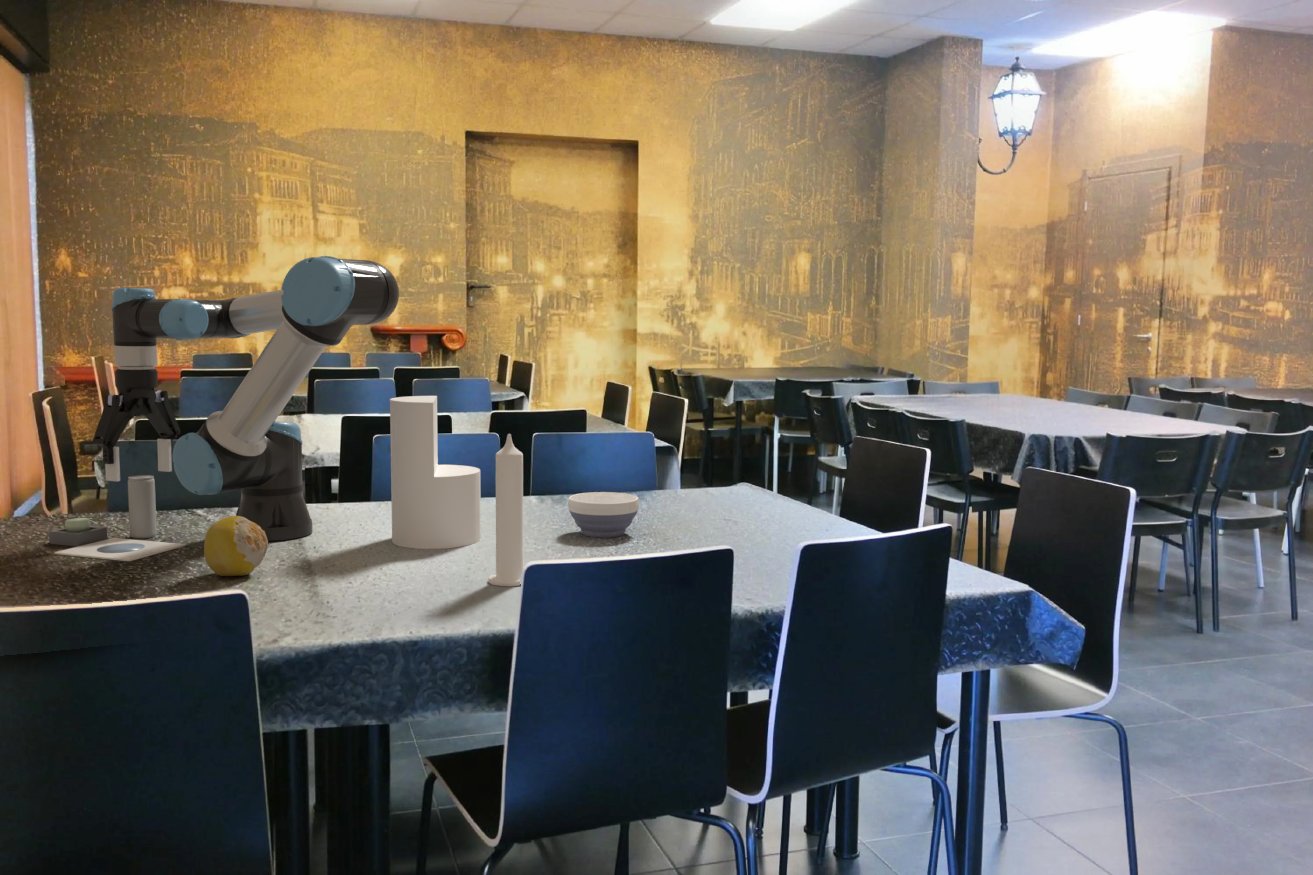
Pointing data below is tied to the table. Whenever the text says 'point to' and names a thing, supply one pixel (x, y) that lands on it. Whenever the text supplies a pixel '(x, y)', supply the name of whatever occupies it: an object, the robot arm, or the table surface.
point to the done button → (77, 525)
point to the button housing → (77, 536)
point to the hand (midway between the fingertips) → (139, 475)
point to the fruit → (234, 546)
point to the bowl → (603, 512)
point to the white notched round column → (429, 482)
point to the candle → (509, 516)
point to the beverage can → (142, 506)
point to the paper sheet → (120, 549)
